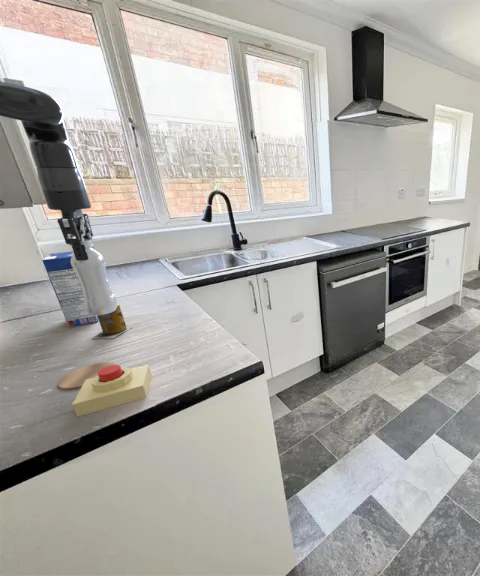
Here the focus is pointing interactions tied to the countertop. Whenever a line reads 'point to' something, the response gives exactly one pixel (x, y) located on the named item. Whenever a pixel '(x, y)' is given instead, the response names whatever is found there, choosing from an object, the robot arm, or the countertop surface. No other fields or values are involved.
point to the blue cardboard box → (68, 289)
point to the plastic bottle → (94, 282)
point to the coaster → (81, 376)
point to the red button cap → (110, 373)
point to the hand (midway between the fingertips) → (86, 257)
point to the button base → (112, 390)
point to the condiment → (112, 324)
